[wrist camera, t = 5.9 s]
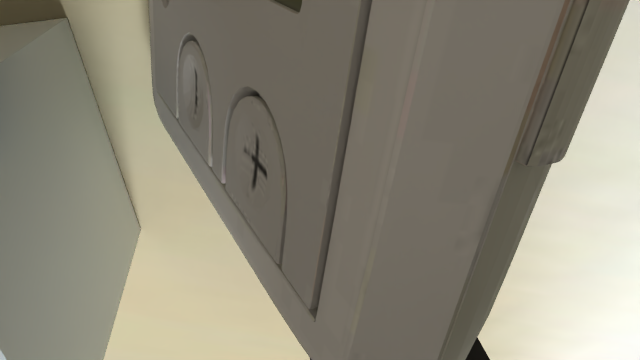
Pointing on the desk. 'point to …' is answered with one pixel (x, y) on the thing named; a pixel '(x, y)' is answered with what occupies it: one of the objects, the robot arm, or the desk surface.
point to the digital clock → (377, 149)
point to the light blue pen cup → (57, 202)
